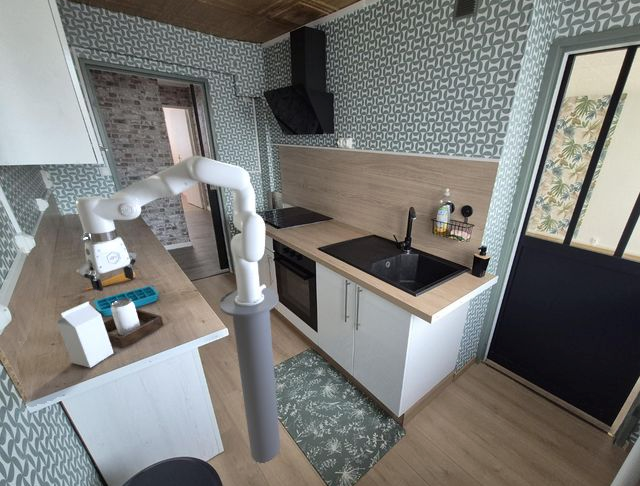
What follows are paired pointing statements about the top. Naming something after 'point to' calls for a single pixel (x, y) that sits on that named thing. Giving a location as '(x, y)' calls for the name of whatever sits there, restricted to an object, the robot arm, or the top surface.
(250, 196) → the robot arm
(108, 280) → the carrot
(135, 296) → the ice cube tray
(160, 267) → the top surface
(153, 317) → the crate
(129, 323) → the can
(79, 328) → the milk carton
